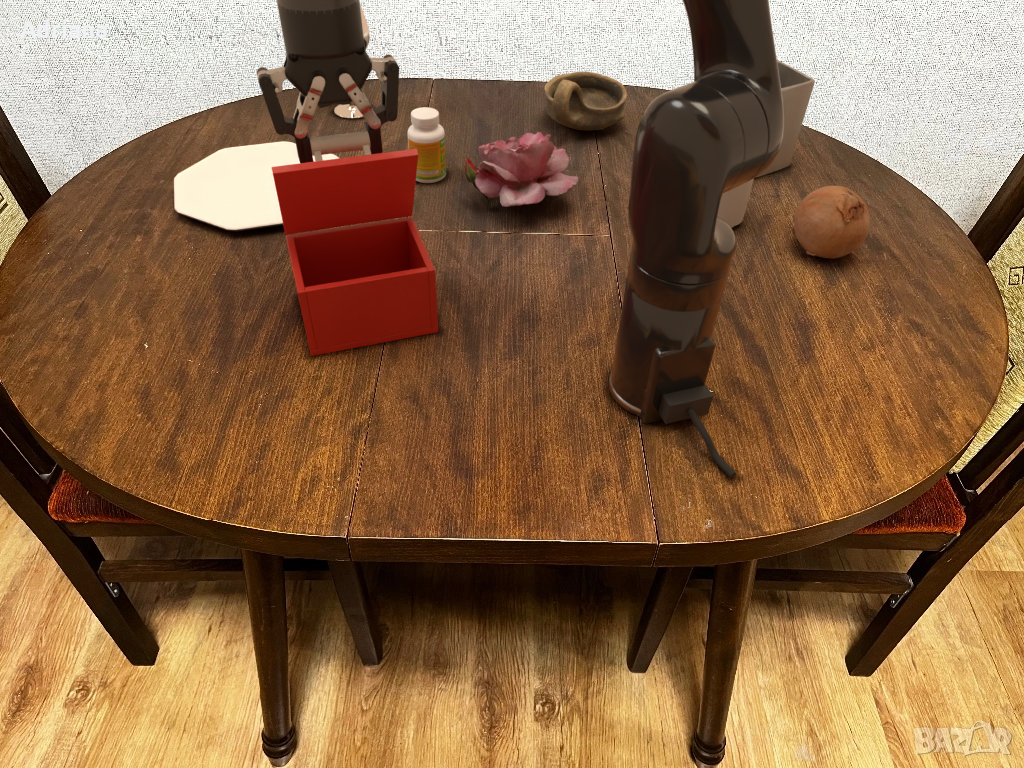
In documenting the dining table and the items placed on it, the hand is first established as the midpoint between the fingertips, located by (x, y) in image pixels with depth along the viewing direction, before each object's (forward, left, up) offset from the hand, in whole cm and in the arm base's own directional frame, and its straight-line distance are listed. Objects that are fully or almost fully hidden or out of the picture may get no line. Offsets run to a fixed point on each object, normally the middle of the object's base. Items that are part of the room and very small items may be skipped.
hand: (342, 162), depth 82 cm
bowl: (+35, -43, -17) cm, 58 cm away
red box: (-5, 0, -17) cm, 18 cm away
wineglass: (+51, -8, -17) cm, 54 cm away
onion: (-8, -61, -17) cm, 64 cm away
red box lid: (-2, 0, -3) cm, 4 cm away
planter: (+16, -67, -17) cm, 71 cm away
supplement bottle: (+26, -15, -17) cm, 34 cm away
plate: (+28, +9, -17) cm, 34 cm away
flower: (+15, -26, -17) cm, 35 cm away
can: (+3, -51, -17) cm, 54 cm away
